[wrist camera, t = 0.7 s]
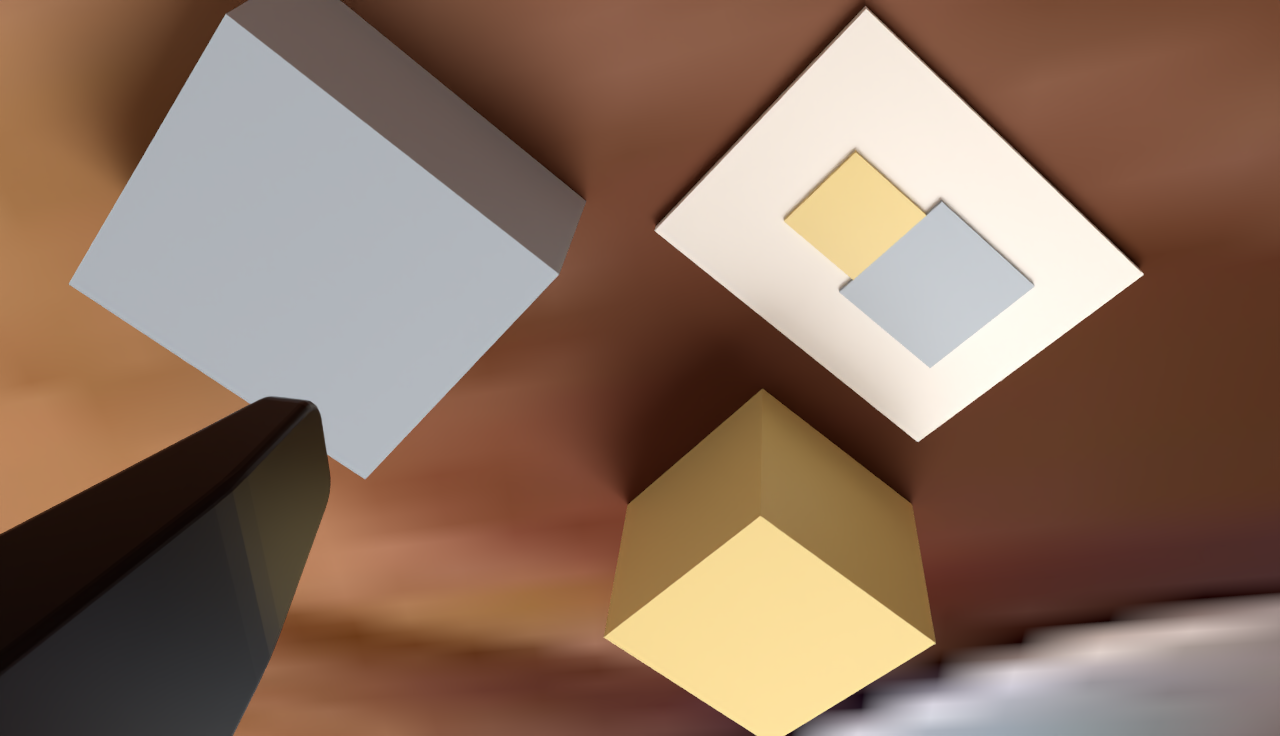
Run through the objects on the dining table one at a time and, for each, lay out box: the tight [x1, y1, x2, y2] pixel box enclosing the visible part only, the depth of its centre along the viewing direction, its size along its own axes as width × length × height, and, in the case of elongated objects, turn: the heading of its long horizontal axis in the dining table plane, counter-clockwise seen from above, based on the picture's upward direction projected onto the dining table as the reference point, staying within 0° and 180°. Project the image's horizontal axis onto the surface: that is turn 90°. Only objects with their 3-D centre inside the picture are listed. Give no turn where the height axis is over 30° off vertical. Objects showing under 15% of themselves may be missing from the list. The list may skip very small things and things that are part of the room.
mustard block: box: [604, 389, 936, 736], centre depth 24 cm, size 5×5×4 cm
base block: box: [69, 0, 586, 479], centre depth 21 cm, size 7×7×4 cm
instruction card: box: [655, 6, 1144, 442], centre depth 21 cm, size 8×6×1 cm
